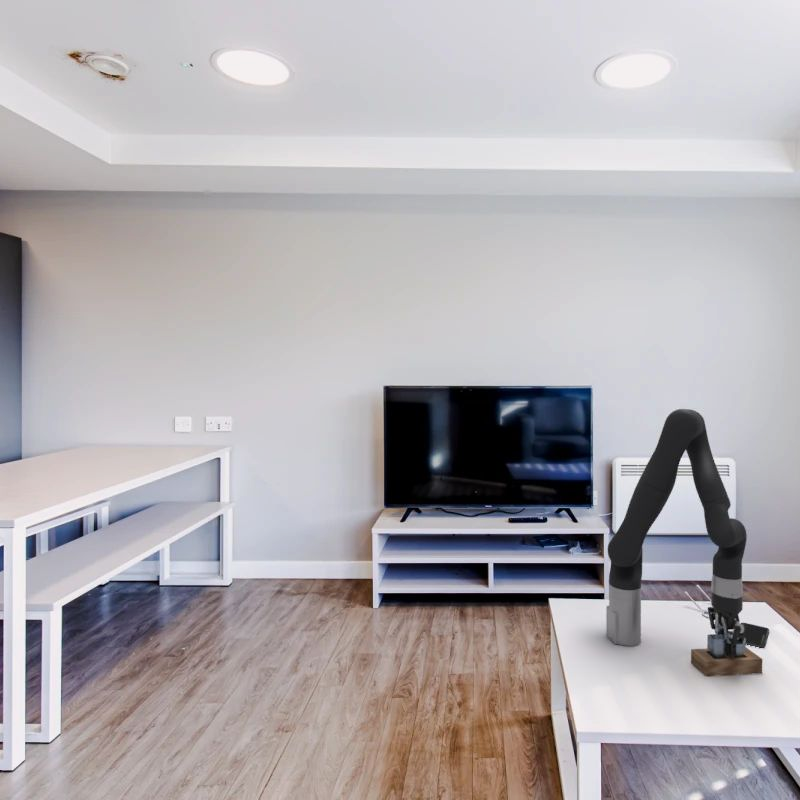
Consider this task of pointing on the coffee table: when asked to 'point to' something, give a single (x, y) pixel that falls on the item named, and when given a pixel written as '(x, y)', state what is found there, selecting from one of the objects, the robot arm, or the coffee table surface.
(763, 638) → the phone
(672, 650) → the coffee table surface
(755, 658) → the two-pocket wooden block
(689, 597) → the silver thin wire frame
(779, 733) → the coffee table surface
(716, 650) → the brushed steel block
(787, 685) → the coffee table surface
